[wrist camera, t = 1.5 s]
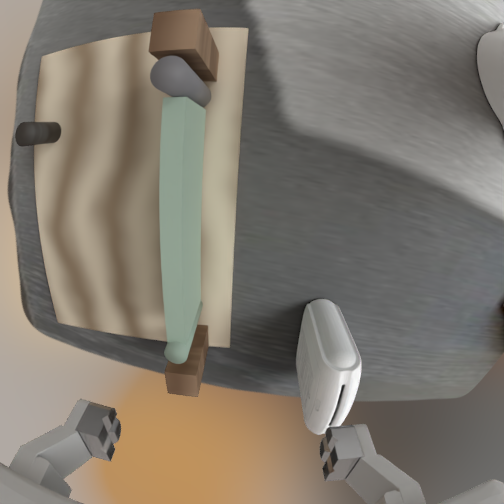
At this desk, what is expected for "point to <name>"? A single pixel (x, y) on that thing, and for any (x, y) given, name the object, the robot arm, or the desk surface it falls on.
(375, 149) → the desk surface
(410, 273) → the desk surface
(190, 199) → the gate
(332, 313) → the photo printer
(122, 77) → the gate frame
